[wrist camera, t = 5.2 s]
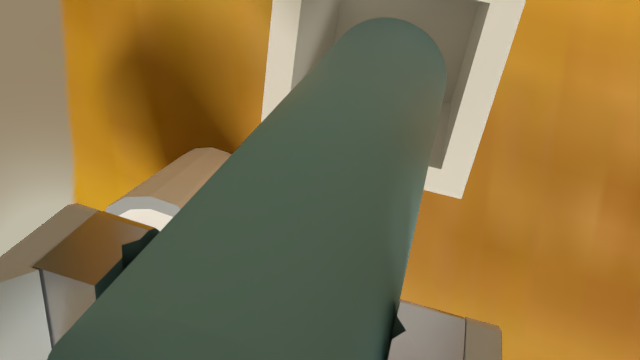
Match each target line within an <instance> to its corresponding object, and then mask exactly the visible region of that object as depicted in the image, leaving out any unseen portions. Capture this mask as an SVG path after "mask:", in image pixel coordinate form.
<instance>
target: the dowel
mask: <svg viewBox="0 0 640 360" xmlns="http://www.w3.org/2000/svg"><path fill="white" fill-rule="evenodd" d="M446 78H447V76H446V67H445V62H444V59H443V56H442V54H441V52H440V50H439V48H438V46H437V45H436V43H435V42H434V41H433V39H432V38H431V37H430V36H429V35H428V34H427V33H426V32H424V31H423V30H422V29H421V28H419V27H417V26H416V25H414V24H412V23H409V22H407V21H404V20H401V19H396V18H374V19H370V20H366V21H363V22H361V23H359V24H357V25H355V26H354V27H352V28H350V29H349V30H348V31H347V32H345V33H344V35H343V36H342V37H341V38H340V39H339V40H338V41H337V42H336V43H335V44H334V45H333V46H332V47H331V48H330V49H329V51H328V52H327V53H326V54H325V55H324V56H323V57H322V58H321V59H320V60H319V61H318V62H317V63H316V64H315V66H314V67H313V68H312V69H311V70H310V71H309V72H308V73H307V74H306V75H305V76H304V77H303V78H302V80H301V81H300V82H299V83H298V84H297V85H296V86H295V87H294V88H293V89H292V90H291V91H290V92H289V94H288V95H287V96H286V97H285V98H284V99H283V100H282V101H281V102H280V103H279V104H278V105H277V106H276V107H275V109H274V110H273V111H272V112H271V113H270V114H269V115H268V116H267V117H266V118H265V119H264V120H263V121H262V123H261V124H260V125H259V126H258V127H257V128H256V129H255V130H254V131H253V132H252V133H251V134H250V135H249V136H248V138H247V139H246V140H245V141H244V142H243V143H242V144H241V145H240V146H239V147H238V148H237V149H236V150H235V152H234V153H233V154H232V155H231V156H230V157H229V158H228V159H227V160H226V161H225V162H224V163H223V164H222V165H221V167H220V168H219V169H218V170H217V171H216V172H215V173H214V174H213V175H212V176H211V177H210V178H209V179H208V181H207V182H206V183H205V184H204V185H203V186H202V187H201V188H200V189H199V190H198V191H197V192H196V193H195V194H194V196H193V197H192V198H191V199H190V200H189V201H188V202H187V203H186V204H185V205H184V206H183V207H182V208H181V210H180V211H179V212H178V213H177V214H176V215H175V216H174V217H173V218H172V219H171V220H170V221H169V222H168V223H167V225H166V226H165V227H164V228H163V229H162V230H161V231H160V232H159V233H158V234H157V235H156V236H155V237H154V239H153V240H152V241H151V242H150V243H149V244H148V245H147V246H146V247H145V248H144V249H143V250H142V251H141V252H140V254H139V255H138V256H137V257H136V258H135V259H134V260H133V261H132V262H131V263H130V264H129V265H128V266H127V268H126V269H125V270H124V271H123V272H122V273H121V274H120V275H119V276H118V277H117V278H116V279H115V280H114V281H113V283H112V284H111V285H110V286H109V287H108V288H107V289H106V290H105V291H104V292H103V293H102V294H101V295H100V297H99V298H98V299H97V300H96V301H95V302H94V303H93V304H92V305H91V306H90V307H89V308H88V309H87V310H86V312H85V313H84V314H83V315H82V316H81V317H80V318H79V319H78V320H77V321H76V322H75V323H74V324H73V326H72V327H71V328H70V329H69V330H68V331H67V332H66V333H65V334H64V335H63V336H62V337H61V338H60V339H59V341H58V342H57V343H56V344H55V345H54V347H53V348H52V350H51V352H50V353H49V355H48V358H47V360H386V357H387V354H388V349H389V340H390V336H391V331H392V327H393V323H394V318H395V314H396V310H397V307H398V304H399V300H400V295H401V291H402V286H403V281H404V277H405V272H406V268H407V263H408V258H409V254H410V249H411V245H412V240H413V235H414V231H415V226H416V222H417V217H418V212H419V208H420V203H421V199H422V194H423V189H424V185H425V180H426V176H427V171H428V166H429V162H430V157H431V152H432V148H433V143H434V139H435V134H436V129H437V125H438V120H439V116H440V111H441V106H442V102H443V97H444V93H445V88H446Z"/></svg>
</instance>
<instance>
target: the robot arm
mask: <svg viewBox="0 0 640 360" xmlns="http://www.w3.org/2000/svg"><path fill="white" fill-rule="evenodd" d="M159 232H160V231H159V230H158V229H156V228H155V227H152V226H148V225H145V224H142V223H139V222H136V221H133V220H130V219H126V218H123V217H120V216H117V215H114V214H111V213H108V212H104V211H103V212H102V211H99V210H96V209H93V208H90V207H87V206H84V205H81V204H71V205H67V206H66V207H64V208H63V209H62V210H61V211H59V212H58V213H57V214H55V215H54V216H53V217H51V218H50V219H49V220H48V221H46V222H45V223H44V224H42V225H41V226H40V227H38V228H37V229H36V230H35V231H33V232H32V233H31V234H29V235H28V236H27V237H25V238H24V239H23V240H22V241H20V242H19V243H18V244H16V245H15V246H14V247H12V248H11V249H10V250H9V251H8V252H6V253H5V254H3V255H2V256H1V257H0V360H47V358H48V355H49V353H50V352H51V350H52V348H53V347H54V345H55V344H56V343H57V342H58V341H59V339H60V338H61V337H62V336H63V335H64V334H65V333H66V332H67V331H68V330H69V329H70V328H71V327H72V326H73V324H74V323H75V322H76V321H77V320H78V319H79V318H80V317H81V316H82V315H83V314H84V313H85V312H86V310H87V309H88V308H89V307H90V306H91V305H92V304H93V303H94V302H95V301H96V300H97V299H98V298H99V297H100V295H101V294H102V293H103V292H104V291H105V290H106V289H107V288H108V287H109V286H110V285H111V284H112V283H113V281H114V280H115V279H116V278H117V277H118V276H119V275H120V274H121V273H122V272H123V271H124V270H125V269H126V268H127V266H128V265H129V264H130V263H131V262H132V261H133V260H134V259H135V258H136V257H137V256H138V255H139V254H140V252H141V251H142V250H143V249H144V248H145V247H146V246H147V245H148V244H149V243H150V242H151V241H152V240H153V239H154V237H155V236H156V235H157V234H158V233H159ZM386 360H502V333H501V330H500V328H499V326H497V325H493V324H489V323H486V322H482V321H478V320H474V319H471V318H467V317H465V318H463V317H461V316H458V315H454V314H451V313H447V312H444V311H440V310H436V309H433V308H429V307H426V306H422V305H419V304H415V303H412V302H408V301H405V300H401V299H400V301H399V304H398V307H397V310H396V314H395V318H394V323H393V327H392V331H391V336H390V340H389V349H388V354H387V357H386Z"/></svg>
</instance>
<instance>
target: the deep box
mask: <svg viewBox="0 0 640 360" xmlns="http://www.w3.org/2000/svg"><path fill="white" fill-rule="evenodd" d="M525 1H526V0H273V4H272V15H271V25H270V35H269V46H268V56H267V67H266V77H265V88H264V98H263V108H262V119H261V123H262V121H263V120H264V119H265V118H266V117H267V116H268V115H269V114H270V113H271V112H272V111H273V110H274V109H275V107H276V106H277V105H278V104H279V103H280V102H281V101H282V100H283V99H284V98H285V97H286V96H287V95H288V94H289V92H290V91H291V90H292V89H293V88H294V87H295V86H296V85H297V84H298V83H299V82H300V81H301V80H302V78H303V77H304V76H305V75H306V74H307V73H308V72H309V71H310V70H311V69H312V68H313V67H314V66H315V64H316V63H317V62H318V61H319V60H320V59H321V58H322V57H323V56H324V55H325V54H326V53H327V52H328V51H329V49H330V48H331V47H332V46H333V45H334V44H335V43H336V42H337V41H338V40H339V39H340V38H341V37H342V36H343V35H344V33H345V32H347V31H348V30H349V29H350V28H352V27H354V26H355V25H357V24H359V23H361V22H363V21H366V20H370V19H374V18H396V19H401V20H404V21H407V22H409V23H412V24H414V25H416V26H417V27H419V28H421V29H422V30H423V31H424V32H426V33H427V34H428V35H429V36H430V37H431V38H432V39H433V41H434V42H435V43H436V45H437V46H438V48H439V50H440V52H441V54H442V56H443V59H444V62H445V67H446V76H447V78H446V88H445V93H444V97H443V102H442V106H441V111H440V116H439V120H438V125H437V129H436V134H435V139H434V143H433V148H432V152H431V157H430V162H429V166H428V171H427V176H426V180H425V185H424V189H423V190H427V191H431V192H435V193H439V194H443V195H447V196H451V197H455V198H459V199H461V198H462V195H463V192H464V189H465V186H466V183H467V180H468V176H469V173H470V170H471V167H472V164H473V161H474V158H475V155H476V152H477V149H478V146H479V143H480V140H481V137H482V133H483V130H484V127H485V124H486V121H487V118H488V115H489V112H490V109H491V106H492V103H493V100H494V97H495V94H496V90H497V87H498V84H499V81H500V78H501V75H502V72H503V69H504V66H505V63H506V60H507V57H508V54H509V51H510V48H511V44H512V41H513V38H514V35H515V32H516V29H517V26H518V23H519V20H520V17H521V14H522V11H523V8H524V5H525Z"/></svg>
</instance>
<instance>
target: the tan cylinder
mask: <svg viewBox="0 0 640 360" xmlns="http://www.w3.org/2000/svg"><path fill="white" fill-rule="evenodd" d="M231 155H232V154H230V153H228V152H225V151H222V150H219V149H216V148H213V147H208V148H195V149H193V150H191V151H189V152H187V153H186V154H184V155H182V156H181V157H179V158H178V159H176V160H175V161H173V162H172V163H170V164H169V165H168V166H166V167H165V168H163V169H162V170H160V171H159V172H157V173H156V174H154V175H153V176H152V177H150V178H149V179H147V180H146V181H144V182H143V183H141V184H140V185H139V186H137V187H136V188H134V189H133V190H131V191H130V192H128V193H127V194H125V195H124V196H123V197H121V198H120V199H118V200H117V201H115V202H114V203H112V204H111V205H109V206H108V207H107V209H106V210H105V212H108V213H111V214H114V215H117V216H120V217H123V218H126V219H130V220H133V221H136V222H139V223H142V224H145V225H148V226H152V227H155V228H156V229H158V230H159V231H161V230H162V229H163V228H164V227H165V226H166V225H167V223H168V222H169V221H170V220H171V219H172V218H173V217H174V216H175V215H176V214H177V213H178V212H179V211H180V210H181V208H182V207H183V206H184V205H185V204H186V203H187V202H188V201H189V200H190V199H191V198H192V197H193V196H194V194H195V193H196V192H197V191H198V190H199V189H200V188H201V187H202V186H203V185H204V184H205V183H206V182H207V181H208V179H209V178H210V177H211V176H212V175H213V174H214V173H215V172H216V171H217V170H218V169H219V168H220V167H221V165H222V164H223V163H224V162H225V161H226V160H227V159H228V158H229V157H230V156H231Z"/></svg>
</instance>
